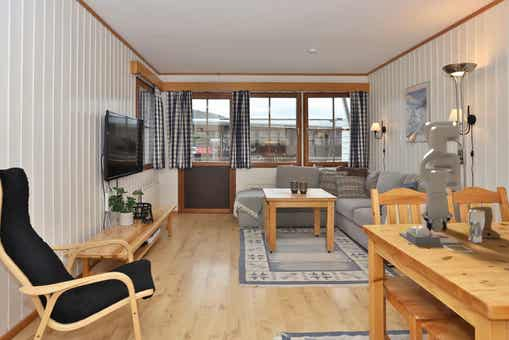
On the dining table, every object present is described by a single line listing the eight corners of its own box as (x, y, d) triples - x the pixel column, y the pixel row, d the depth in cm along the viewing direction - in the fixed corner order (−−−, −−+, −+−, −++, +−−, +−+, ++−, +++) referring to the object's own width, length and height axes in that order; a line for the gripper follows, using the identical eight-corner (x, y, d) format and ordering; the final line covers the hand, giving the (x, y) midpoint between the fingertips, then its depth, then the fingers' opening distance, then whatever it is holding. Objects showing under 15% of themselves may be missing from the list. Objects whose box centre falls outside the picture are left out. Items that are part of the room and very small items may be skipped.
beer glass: (481, 240, 184) (482, 209, 183) (485, 243, 177) (487, 212, 176) (465, 239, 186) (466, 209, 184) (469, 242, 179) (470, 211, 178)
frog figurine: (427, 232, 189) (427, 218, 189) (432, 230, 194) (433, 216, 194) (440, 234, 185) (440, 220, 184) (445, 232, 190) (445, 218, 189)
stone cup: (468, 231, 202) (469, 203, 201) (494, 233, 198) (495, 205, 197) (473, 238, 188) (474, 208, 187) (501, 240, 184) (502, 209, 183)
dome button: (413, 236, 183) (413, 224, 182) (426, 236, 183) (426, 224, 182) (418, 240, 177) (419, 227, 176) (431, 240, 177) (432, 227, 176)
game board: (399, 234, 195) (399, 224, 195) (440, 234, 194) (441, 225, 194) (424, 251, 164) (425, 240, 164) (474, 252, 164) (474, 240, 163)
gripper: (451, 194, 192) (450, 228, 193) (416, 194, 192) (415, 228, 193) (459, 196, 184) (457, 232, 186) (423, 196, 185) (422, 232, 186)
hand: (436, 230), depth 189 cm, fingers closed on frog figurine, 6 cm apart
